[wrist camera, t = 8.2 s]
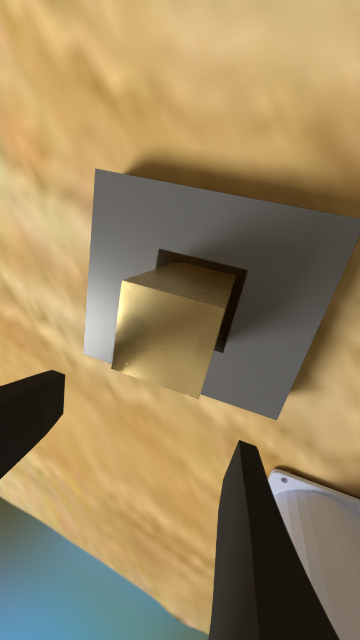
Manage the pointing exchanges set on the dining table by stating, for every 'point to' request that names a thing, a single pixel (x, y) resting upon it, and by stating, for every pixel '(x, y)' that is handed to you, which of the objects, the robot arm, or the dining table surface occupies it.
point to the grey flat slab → (230, 249)
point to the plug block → (171, 325)
